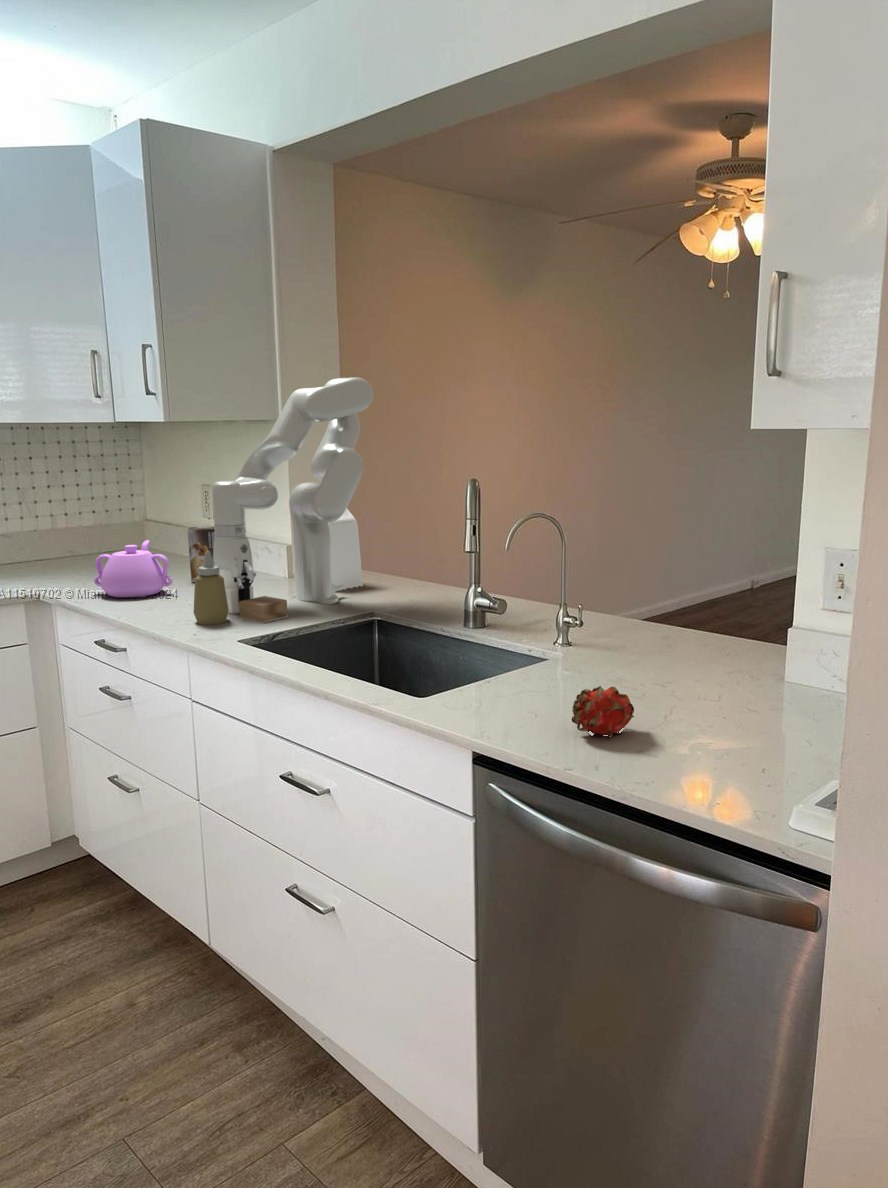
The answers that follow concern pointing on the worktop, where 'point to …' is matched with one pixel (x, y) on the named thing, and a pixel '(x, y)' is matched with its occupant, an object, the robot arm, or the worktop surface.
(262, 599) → the base block
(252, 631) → the worktop surface
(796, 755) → the worktop surface
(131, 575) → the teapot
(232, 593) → the medicine bottle
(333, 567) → the milk
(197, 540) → the coffee box
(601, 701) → the dragon fruit
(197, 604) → the squeeze bottle
